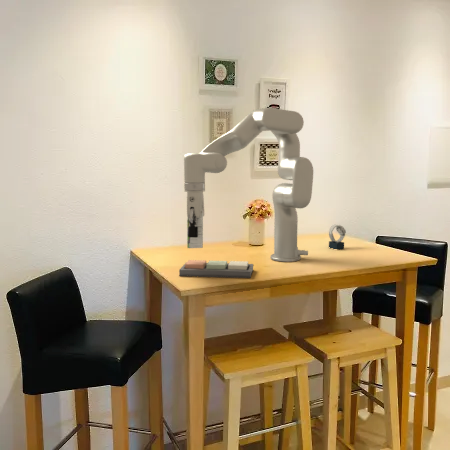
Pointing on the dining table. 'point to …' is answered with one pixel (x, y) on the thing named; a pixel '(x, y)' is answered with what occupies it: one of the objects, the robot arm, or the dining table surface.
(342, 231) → the watch
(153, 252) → the dining table surface
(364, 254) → the dining table surface
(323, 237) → the dining table surface
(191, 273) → the keypad board
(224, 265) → the sage key
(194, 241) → the syrup box
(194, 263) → the terracotta key
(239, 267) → the cream key
